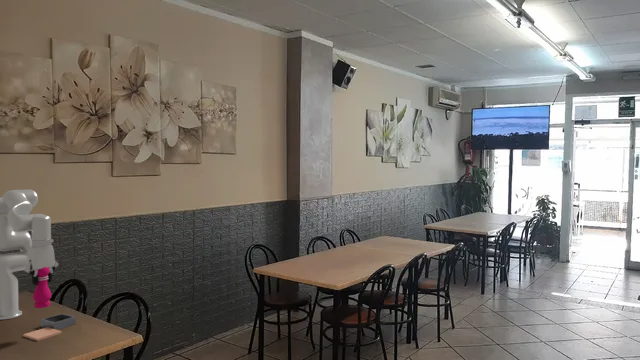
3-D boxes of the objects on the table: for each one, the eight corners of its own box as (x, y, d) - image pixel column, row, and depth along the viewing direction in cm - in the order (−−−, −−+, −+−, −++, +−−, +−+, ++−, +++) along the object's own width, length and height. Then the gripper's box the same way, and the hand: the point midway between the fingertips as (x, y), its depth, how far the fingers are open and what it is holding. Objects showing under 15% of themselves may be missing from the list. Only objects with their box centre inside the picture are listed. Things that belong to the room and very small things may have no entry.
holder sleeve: (40, 326, 228) (40, 319, 227) (62, 320, 237) (62, 313, 237) (54, 330, 222) (54, 323, 222) (75, 324, 232) (75, 316, 231)
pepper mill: (43, 309, 212) (42, 263, 211) (29, 307, 213) (28, 263, 213) (55, 304, 219) (54, 260, 218) (41, 303, 220) (41, 260, 220)
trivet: (23, 336, 215) (23, 334, 215) (47, 329, 224) (47, 327, 224) (37, 341, 209) (37, 338, 209) (61, 333, 219) (61, 331, 219)
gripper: (55, 240, 225) (55, 278, 225) (16, 245, 210) (17, 286, 210) (64, 241, 221) (65, 280, 221) (26, 246, 206) (27, 288, 207)
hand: (42, 283), depth 216 cm, fingers closed on pepper mill, 5 cm apart
